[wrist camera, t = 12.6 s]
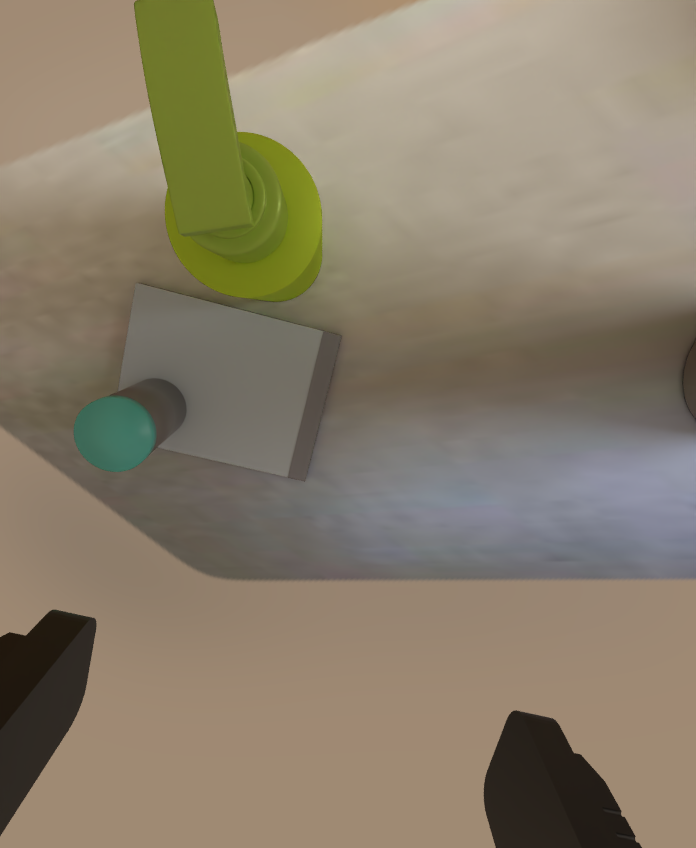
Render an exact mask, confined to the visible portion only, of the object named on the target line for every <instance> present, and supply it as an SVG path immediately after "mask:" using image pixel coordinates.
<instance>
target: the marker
mask: <svg viewBox="0 0 696 848" xmlns="http://www.w3.org/2000/svg"><path fill="white" fill-rule="evenodd" d="M185 417H186V402H185V399H184V397H183V395H182V393H181V392H180V390H179V389H178V388H177V387H176V386H174V385H173V384H172V383H170V382H168V381H166V380H163V379H157V378H151V379H146V380H143V381H141V382H138V383H136V384H134V385H132V386H130V387H127V388H125V389H123V390H121V391H118V392H116V393H114V394H112V395H109V396H106V397H103V398H100V399H98V400H96V401H94V402H91V403H90V404H88V405H87V406H85V407H84V408H83V409H82V410H81V412H80V413H79V415H78V416H77V418H76V421H75V424H74V439H75V442H76V445H77V447H78V449H79V451H80V453H81V454H82V455H83V457H84V458H85V459H86V460H87V461H89V462H90V463H91V464H93V465H94V466H96V467H98V468H100V469H103V470H106V471H112V472H121V471H126V470H130V469H132V468H134V467H136V466H137V465H139V464H140V463H141V462H142V461H143V460H145V459H146V458H147V457H148V456H149V455H150V453H151V452H152V451H153V450H154V449H156V448H157V447H158V446H159V445H160V444H161V443H162V442H164V441H165V440H166V439H167V438H168V437H169V436H170V435H172V434H173V433H174V432H175V431H176V430H177V429H178V428H179V427H180V426H181V425H182V423H183V422H184V420H185Z"/></svg>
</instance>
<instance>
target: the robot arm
mask: <svg viewBox="0 0 696 848" xmlns="http://www.w3.org/2000/svg"><path fill="white" fill-rule="evenodd" d="M683 388H684V396H685V399H686V402H687V405H688V407H689V410H690V411H691V413H692V414H693V416H694V417H695V419H696V341H695V343H694V345H693V347H692V349H691V351H690V353H689V355H688V358H687V361H686V365H685V368H684V377H683ZM95 632H96V620H95V618H91V617H86V616H81V615H77V614H72V613H68V612H63V611H59V610H51V611H50V612H49V613H48V614H46V615H45V616H44V617H43V619H41V621H40V622H39V623H38V624H37V625H36V626H35V627H34V628H33V629H32V630H31V631H30V632H29V633H28V634H27V635H26V636H24V635H20V634H15V633H10V632H9V633H7V634H6V635H4V636H2V637H0V836H1V834H2V832H3V831H4V829H5V828H6V826H7V825H8V823H9V822H10V820H11V818H12V817H13V815H14V814H15V812H16V811H17V809H18V807H19V806H20V804H21V803H22V801H23V800H24V798H25V797H26V795H27V794H28V792H29V791H30V789H31V787H32V786H33V784H34V783H35V781H36V780H37V778H38V777H39V775H40V773H41V772H42V770H43V769H44V767H45V766H46V764H47V763H48V761H49V759H50V758H51V756H52V755H53V753H54V752H55V750H56V749H57V747H58V746H59V744H60V742H61V741H62V739H63V738H64V736H65V735H66V733H67V732H68V730H69V728H70V727H71V725H72V723H73V721H74V719H75V717H76V715H77V713H78V711H79V708H80V706H81V703H82V700H83V696H84V694H85V690H86V684H87V678H88V673H89V667H90V661H91V655H92V650H93V644H94V638H95ZM484 804H485V811H486V815H487V818H488V822H489V825H490V829H491V832H492V836H493V839H494V843H495V846H496V848H642V847H641V846H640V844H639V843H637V842H636V841H635V835H634V833H633V831H632V829H631V828H630V826H629V824H628V822H627V820H626V819H625V817H622V816H621V810H620V808H619V806H618V804H617V802H616V801H615V799H614V797H613V795H612V793H611V792H610V790H609V788H608V786H607V785H606V783H605V781H604V780H603V779H602V778H601V777H600V776H599V774H598V773H597V772H596V771H595V770H594V769H593V768H592V767H591V766H590V764H589V763H588V762H587V761H586V760H585V759H584V758H583V757H582V756H581V755H580V754H575V753H573V751H572V749H571V747H570V745H569V743H568V741H567V739H566V737H565V735H564V733H563V732H562V730H561V728H560V726H559V724H558V723H557V722H556V720H554V719H552V718H548V717H543V716H539V715H534V714H529V713H525V712H520V711H513V712H511V714H510V715H509V716H508V718H507V721H506V723H505V726H504V729H503V731H502V734H501V736H500V739H499V742H498V744H497V747H496V750H495V752H494V755H493V757H492V760H491V762H490V766H489V768H488V770H487V774H486V777H485V783H484Z"/></svg>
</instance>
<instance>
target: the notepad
mask: <svg viewBox="0 0 696 848" xmlns="http://www.w3.org/2000/svg"><path fill="white" fill-rule="evenodd" d="M341 337H342V336H341V335H337V334H334V333H330V332H326V331H322V330H318V329H314V328H310V327H306V326H303V325H299V324H295V323H291V322H287V321H283V320H279V319H276V318H272V317H268V316H264V315H260V314H256V313H252V312H249V311H245V310H241V309H237V308H233V307H229V306H225V305H222V304H218V303H214V302H210V301H206V300H202V299H198V298H195V297H191V296H187V295H183V294H179V293H175V292H171V291H168V290H164V289H160V288H156V287H152V286H148V285H144V284H140V283H136V284H135V290H134V296H133V302H132V308H131V314H130V320H129V326H128V332H127V338H126V344H125V350H124V356H123V362H122V368H121V374H120V380H119V386H118V391H121V390H123V389H125V388H127V387H130V386H132V385H134V384H136V383H138V382H141V381H143V380H146V379H151V378H157V379H163V380H166V381H168V382H170V383H172V384H173V385H174V386H176V387H177V388H178V389H179V390H180V392H181V393H182V395H183V397H184V399H185V402H186V417H185V420H184V422H183V423H182V425H181V426H180V427H179V428H178V429H177V430H176V431H175V432H174V433H173V434H172V435H170V436H169V437H168V438H167V439H166V440H165V441H164V442H162V443H161V444H160V445H159V446H158V447H157V448H161V449H166V450H170V451H174V452H179V453H183V454H187V455H192V456H196V457H201V458H205V459H209V460H214V461H218V462H223V463H227V464H231V465H236V466H240V467H245V468H249V469H253V470H258V471H262V472H266V473H271V474H275V475H280V476H284V477H288V478H292V479H296V480H301V481H305V480H306V476H307V472H308V468H309V464H310V460H311V456H312V452H313V448H314V444H315V440H316V436H317V432H318V428H319V424H320V420H321V416H322V412H323V408H324V404H325V400H326V396H327V393H328V389H329V385H330V381H331V377H332V373H333V369H334V365H335V361H336V357H337V353H338V349H339V345H340V341H341Z"/></svg>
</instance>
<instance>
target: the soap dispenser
mask: <svg viewBox="0 0 696 848" xmlns="http://www.w3.org/2000/svg"><path fill="white" fill-rule="evenodd" d="M134 9H135V18H136V24H137V31H138V38H139V44H140V51H141V58H142V64H143V69H144V76H145V81H146V86H147V92H148V97H149V102H150V107H151V112H152V117H153V122H154V127H155V131H156V136H157V141H158V145H159V150H160V154H161V159H162V163H163V168H164V172H165V177H166V181H167V185H168V189H167V194H166V200H165V221H166V227H167V232H168V236H169V239H170V242H171V244H172V247H173V249H174V251H175V253H176V254H177V256H178V258H179V259H180V261H181V262H182V264H183V265H184V266H185V268H186V269H187V270H188V271H189V272H190V273H191V274H192V275H193V276H194V277H195V278H196V279H198V280H199V281H200V282H202V283H203V284H204V285H206V286H208V287H209V288H211V289H213V290H215V291H217V292H220V293H223V294H226V295H229V296H234V297H241V298H249V299H256V300H264V301H272V302H280V301H286V300H290V299H293V298H295V297H297V296H299V295H301V294H302V293H303V292H305V291H306V290H307V289H308V288H309V287H310V286H311V285H312V283H313V282H314V280H315V279H316V277H317V275H318V273H319V270H320V267H321V262H322V209H321V203H320V198H319V194H318V191H317V188H316V186H315V183H314V181H313V179H312V177H311V175H310V174H309V172H308V171H307V169H306V168H305V166H304V165H303V164H302V162H301V161H300V160H299V159H298V158H297V157H296V156H295V155H294V154H293V153H292V152H291V151H290V150H288V149H287V148H286V147H284V146H283V145H281V144H280V143H278V142H276V141H274V140H272V139H270V138H268V137H265V136H262V135H259V134H254V133H248V132H237V129H236V123H235V118H234V112H233V107H232V101H231V96H230V90H229V84H228V78H227V73H226V67H225V61H224V55H223V50H222V43H221V36H220V30H219V24H218V18H217V14H216V10H215V6H214V1H213V0H137V1H135V3H134Z"/></svg>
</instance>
